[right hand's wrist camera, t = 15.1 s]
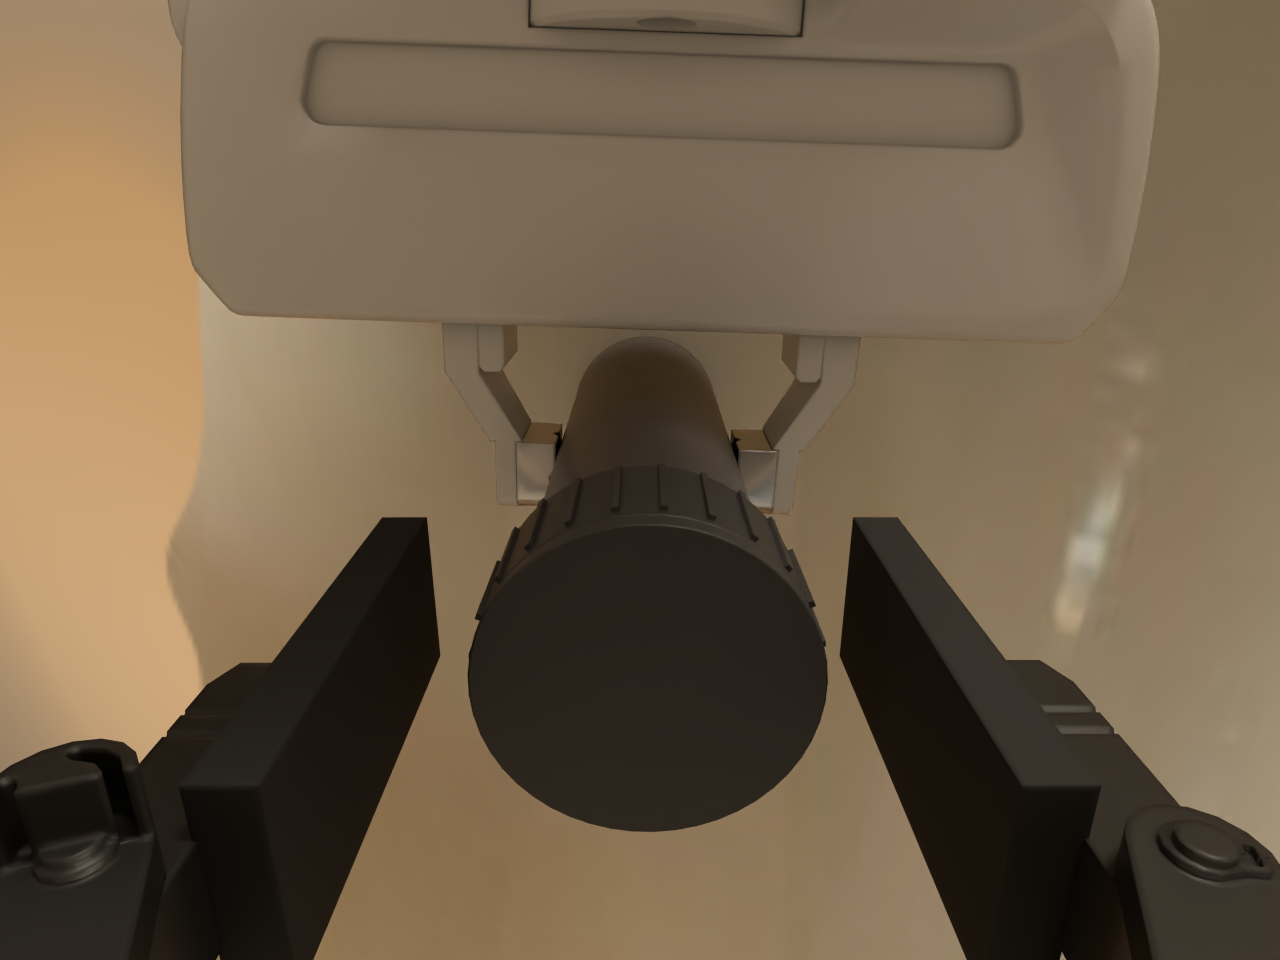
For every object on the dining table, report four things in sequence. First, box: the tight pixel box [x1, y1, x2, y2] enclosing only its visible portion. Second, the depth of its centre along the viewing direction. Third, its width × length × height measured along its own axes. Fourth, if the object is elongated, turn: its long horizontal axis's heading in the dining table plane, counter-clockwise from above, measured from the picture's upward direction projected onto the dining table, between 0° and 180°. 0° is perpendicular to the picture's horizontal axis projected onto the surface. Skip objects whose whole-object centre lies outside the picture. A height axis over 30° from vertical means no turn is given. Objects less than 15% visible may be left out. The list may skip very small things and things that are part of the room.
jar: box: [544, 337, 750, 501], centre depth 19 cm, size 4×4×16 cm
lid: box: [468, 464, 828, 832], centre depth 13 cm, size 5×5×2 cm
